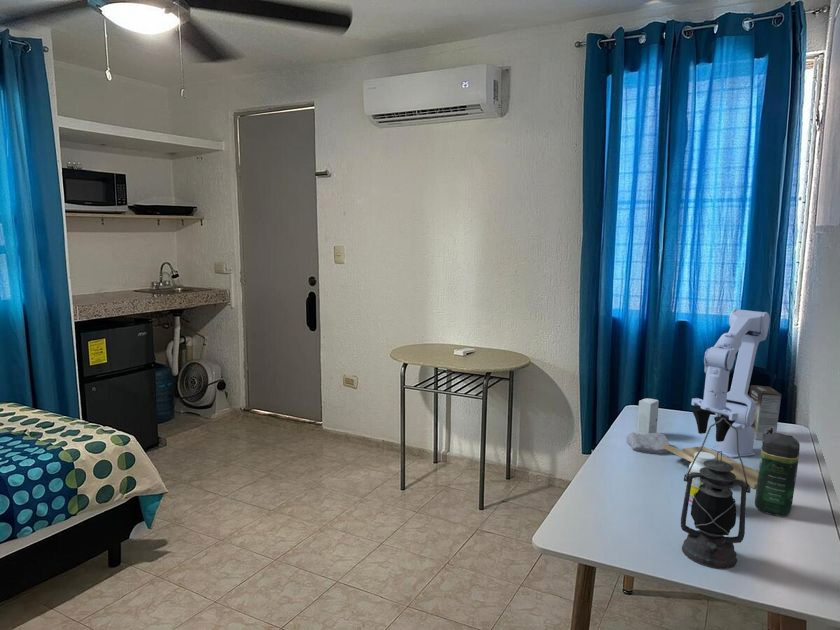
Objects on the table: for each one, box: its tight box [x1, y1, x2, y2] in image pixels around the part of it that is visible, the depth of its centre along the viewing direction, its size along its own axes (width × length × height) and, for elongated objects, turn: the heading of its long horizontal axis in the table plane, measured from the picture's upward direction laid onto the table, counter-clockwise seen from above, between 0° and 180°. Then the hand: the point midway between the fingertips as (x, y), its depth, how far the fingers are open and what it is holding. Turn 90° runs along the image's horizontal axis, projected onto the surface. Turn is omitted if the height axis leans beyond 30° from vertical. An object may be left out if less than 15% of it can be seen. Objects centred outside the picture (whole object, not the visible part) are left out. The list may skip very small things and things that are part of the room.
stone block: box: [626, 431, 672, 456], centre depth 186 cm, size 12×5×10 cm
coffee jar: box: [754, 432, 800, 517], centre depth 146 cm, size 10×8×19 cm
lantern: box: [680, 418, 752, 570], centre depth 124 cm, size 12×11×30 cm
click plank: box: [663, 444, 743, 481], centre depth 169 cm, size 10×20×1 cm, turn 20°
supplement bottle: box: [688, 452, 715, 506], centre depth 148 cm, size 7×7×13 cm
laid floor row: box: [681, 445, 759, 489], centre depth 172 cm, size 8×26×1 cm, turn 19°
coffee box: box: [748, 384, 782, 441], centre depth 198 cm, size 9×6×16 cm
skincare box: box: [636, 397, 660, 435], centre depth 196 cm, size 6×4×12 cm
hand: (710, 437), depth 168 cm, fingers open, 6 cm apart
